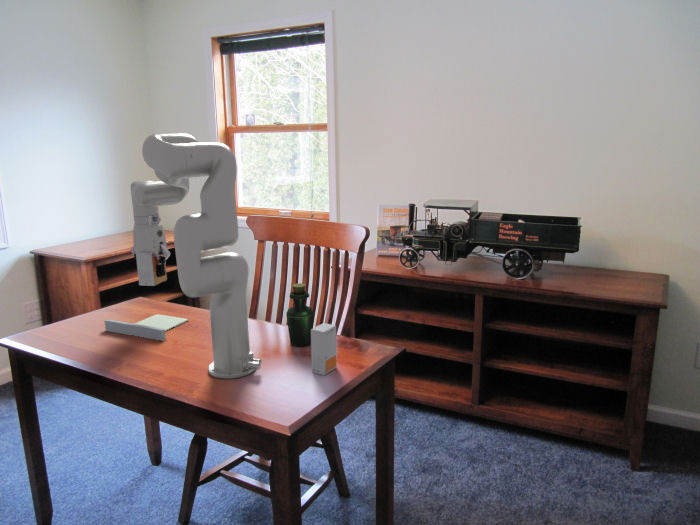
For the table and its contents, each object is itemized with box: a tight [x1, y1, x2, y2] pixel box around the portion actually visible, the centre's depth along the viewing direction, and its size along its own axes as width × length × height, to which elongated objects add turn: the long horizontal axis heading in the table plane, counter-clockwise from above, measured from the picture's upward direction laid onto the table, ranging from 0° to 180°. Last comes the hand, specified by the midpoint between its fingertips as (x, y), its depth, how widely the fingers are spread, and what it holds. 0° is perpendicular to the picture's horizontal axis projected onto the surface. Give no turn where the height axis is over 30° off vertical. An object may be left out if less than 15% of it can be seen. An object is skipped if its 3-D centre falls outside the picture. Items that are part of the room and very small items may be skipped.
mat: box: [134, 313, 190, 332], centre depth 182 cm, size 14×14×1 cm
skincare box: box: [310, 322, 337, 376], centre depth 145 cm, size 6×4×12 cm
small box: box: [135, 252, 168, 287], centre depth 178 cm, size 8×6×10 cm
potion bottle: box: [286, 282, 315, 348], centre depth 163 cm, size 8×8×18 cm
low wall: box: [103, 319, 167, 342], centre depth 173 cm, size 24×1×4 cm, turn 65°
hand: (152, 274), depth 178 cm, fingers closed on small box, 6 cm apart
